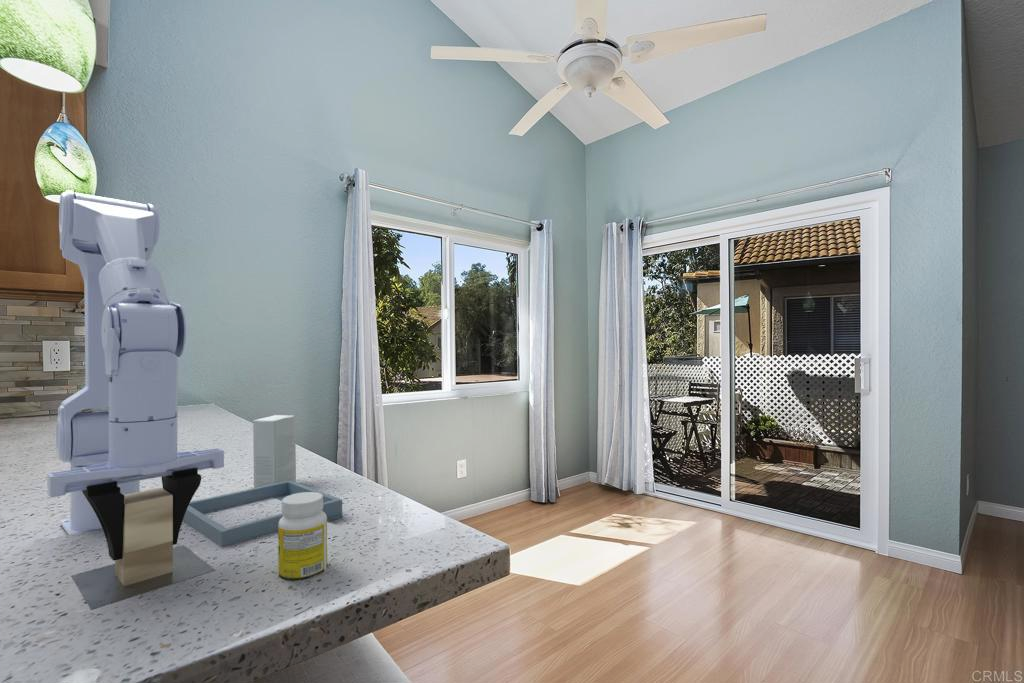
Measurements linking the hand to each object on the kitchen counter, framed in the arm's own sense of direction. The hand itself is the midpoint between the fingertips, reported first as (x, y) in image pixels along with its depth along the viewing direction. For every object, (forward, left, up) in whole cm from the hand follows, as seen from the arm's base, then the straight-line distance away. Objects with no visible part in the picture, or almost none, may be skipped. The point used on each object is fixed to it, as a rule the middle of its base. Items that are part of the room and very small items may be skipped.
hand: (143, 549), depth 51 cm
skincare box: (-24, +24, -3) cm, 34 cm away
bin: (-9, +16, -3) cm, 18 cm away
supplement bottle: (+12, +11, -3) cm, 17 cm away
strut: (0, 0, -2) cm, 2 cm away
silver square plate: (0, 0, -3) cm, 3 cm away
